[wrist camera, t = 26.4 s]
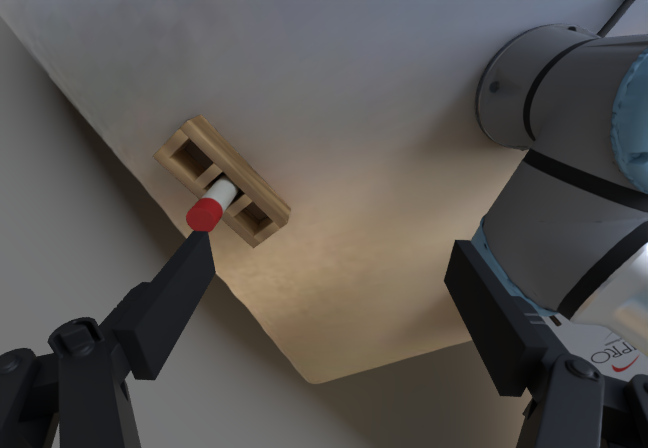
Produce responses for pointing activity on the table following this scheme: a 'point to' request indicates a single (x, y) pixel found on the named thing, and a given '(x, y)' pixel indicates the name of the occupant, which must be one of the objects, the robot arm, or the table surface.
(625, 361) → the packaging box
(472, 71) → the table surface
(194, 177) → the pen holder
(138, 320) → the robot arm
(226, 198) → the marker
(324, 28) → the table surface
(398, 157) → the table surface
